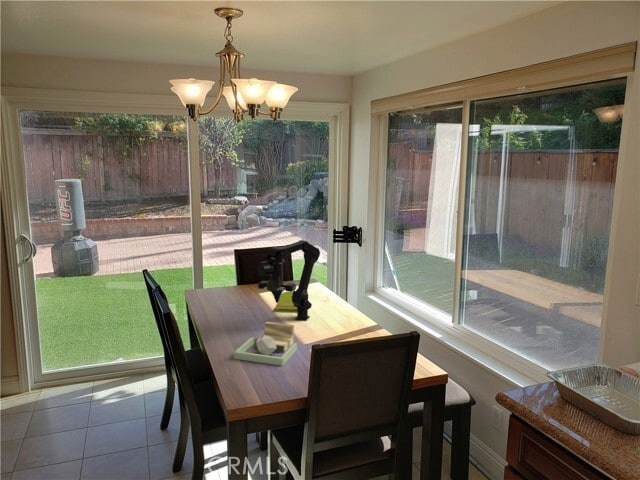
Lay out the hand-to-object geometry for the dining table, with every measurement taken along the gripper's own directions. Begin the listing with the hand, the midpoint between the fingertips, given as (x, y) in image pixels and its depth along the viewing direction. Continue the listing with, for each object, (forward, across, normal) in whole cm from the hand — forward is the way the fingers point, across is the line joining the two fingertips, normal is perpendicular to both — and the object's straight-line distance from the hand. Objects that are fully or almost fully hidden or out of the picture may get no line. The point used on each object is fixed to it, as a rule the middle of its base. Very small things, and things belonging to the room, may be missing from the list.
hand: (277, 302), depth 240 cm
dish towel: (+14, -8, +40) cm, 43 cm away
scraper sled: (+13, +8, -22) cm, 26 cm away
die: (+13, +8, -32) cm, 36 cm away
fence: (+13, +8, -32) cm, 35 cm away
